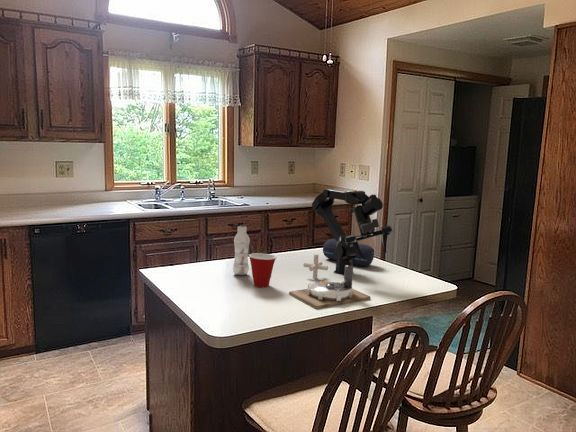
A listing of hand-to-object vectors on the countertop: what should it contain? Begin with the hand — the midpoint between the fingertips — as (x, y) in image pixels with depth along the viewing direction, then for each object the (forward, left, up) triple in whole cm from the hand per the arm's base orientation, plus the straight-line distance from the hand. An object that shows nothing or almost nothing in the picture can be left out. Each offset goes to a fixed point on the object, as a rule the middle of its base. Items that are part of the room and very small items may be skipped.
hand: (374, 256), depth 191 cm
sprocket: (-6, -25, -10) cm, 28 cm away
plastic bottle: (-48, -24, -12) cm, 55 cm away
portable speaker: (-23, +26, -12) cm, 36 cm away
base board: (-6, -25, -11) cm, 28 cm away
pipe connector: (-22, -8, -12) cm, 26 cm away
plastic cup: (-33, -30, -12) cm, 46 cm away
